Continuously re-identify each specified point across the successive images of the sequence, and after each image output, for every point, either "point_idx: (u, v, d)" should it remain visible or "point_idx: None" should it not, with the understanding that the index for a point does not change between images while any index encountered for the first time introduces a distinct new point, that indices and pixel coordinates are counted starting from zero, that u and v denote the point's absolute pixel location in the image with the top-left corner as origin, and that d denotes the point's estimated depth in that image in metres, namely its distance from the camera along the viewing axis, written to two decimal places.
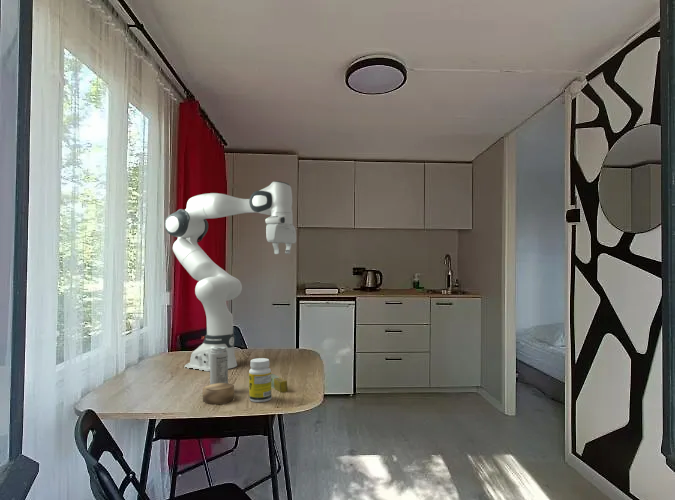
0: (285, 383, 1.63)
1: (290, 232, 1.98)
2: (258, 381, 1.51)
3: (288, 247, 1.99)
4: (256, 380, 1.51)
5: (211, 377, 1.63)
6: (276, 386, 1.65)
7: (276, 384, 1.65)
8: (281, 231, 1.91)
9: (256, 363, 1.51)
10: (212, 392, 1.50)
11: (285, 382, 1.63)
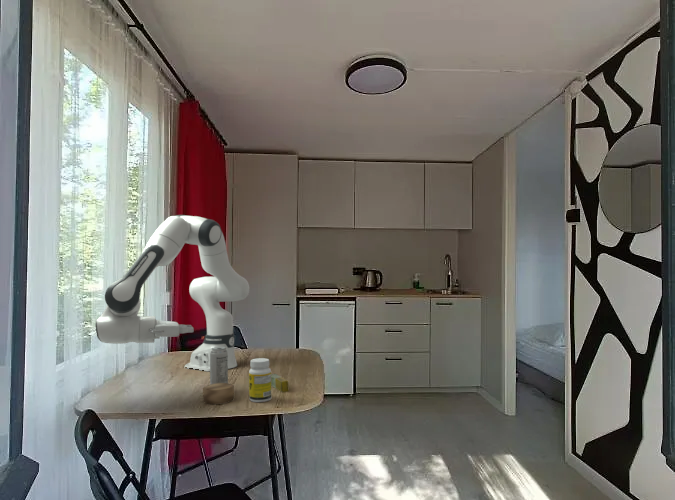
0: (286, 383, 1.63)
1: None
2: (258, 381, 1.51)
3: None
4: (256, 380, 1.51)
5: (211, 377, 1.63)
6: (278, 386, 1.65)
7: (277, 384, 1.65)
8: None
9: (256, 363, 1.51)
10: (212, 392, 1.50)
11: (286, 382, 1.63)
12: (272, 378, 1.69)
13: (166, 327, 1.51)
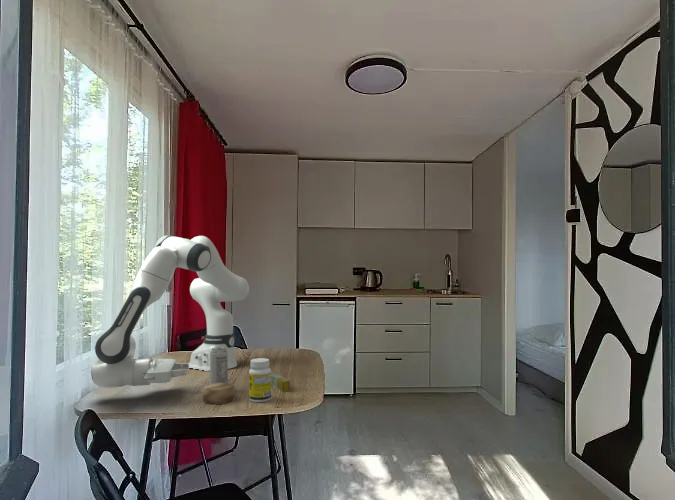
0: (287, 383, 1.63)
1: None
2: (258, 381, 1.51)
3: None
4: (256, 380, 1.51)
5: (211, 377, 1.63)
6: (279, 386, 1.65)
7: (279, 384, 1.65)
8: None
9: (256, 363, 1.51)
10: (212, 392, 1.50)
11: (287, 382, 1.63)
12: (273, 378, 1.70)
13: (157, 373, 1.51)
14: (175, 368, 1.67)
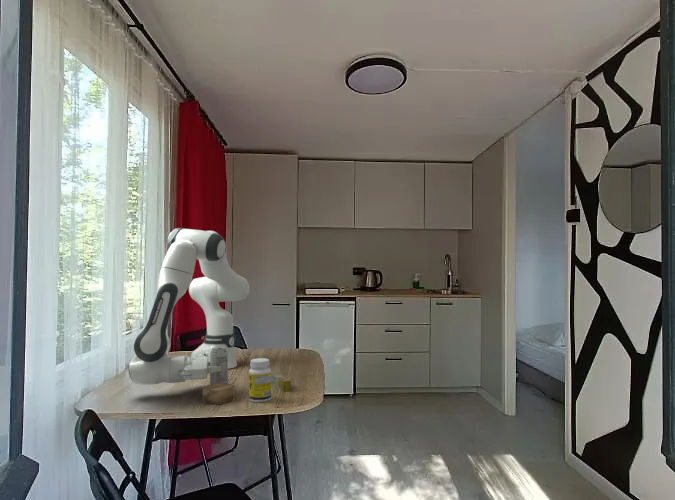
0: (288, 382, 1.63)
1: None
2: (258, 381, 1.51)
3: None
4: (256, 380, 1.51)
5: (211, 377, 1.63)
6: (280, 386, 1.66)
7: (280, 384, 1.65)
8: None
9: (256, 363, 1.51)
10: (212, 392, 1.50)
11: (288, 382, 1.63)
12: (275, 378, 1.70)
13: (194, 370, 1.54)
14: (208, 365, 1.69)
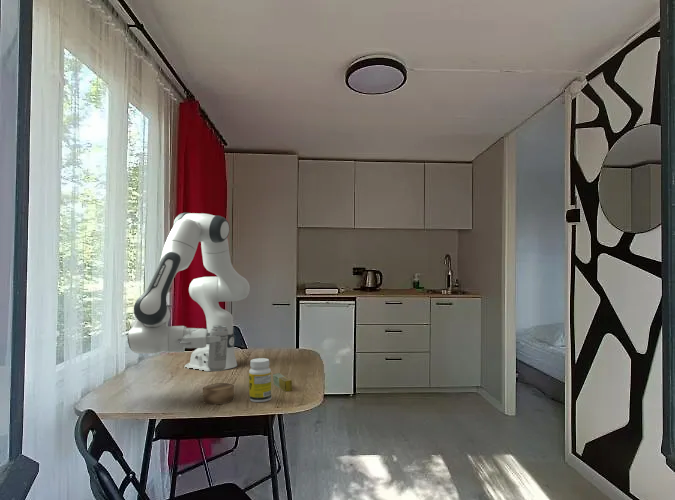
0: (290, 382, 1.64)
1: None
2: (258, 381, 1.51)
3: None
4: (256, 380, 1.51)
5: (209, 355, 1.62)
6: (281, 385, 1.66)
7: (281, 383, 1.66)
8: None
9: (256, 363, 1.51)
10: (212, 392, 1.50)
11: (290, 381, 1.64)
12: (276, 377, 1.70)
13: (193, 339, 1.53)
14: None
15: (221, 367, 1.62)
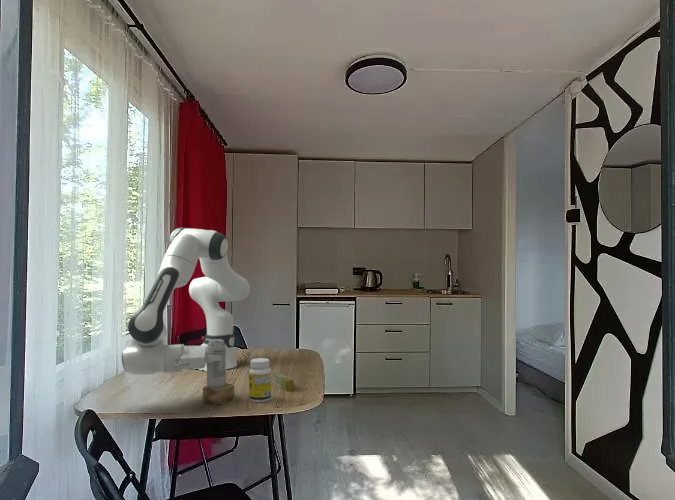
0: (291, 382, 1.64)
1: None
2: (258, 381, 1.51)
3: None
4: (256, 380, 1.51)
5: (208, 371, 1.52)
6: (283, 385, 1.66)
7: (282, 383, 1.66)
8: None
9: (256, 363, 1.51)
10: (212, 392, 1.50)
11: (291, 381, 1.64)
12: (277, 377, 1.70)
13: (191, 359, 1.44)
14: None
15: (221, 384, 1.52)
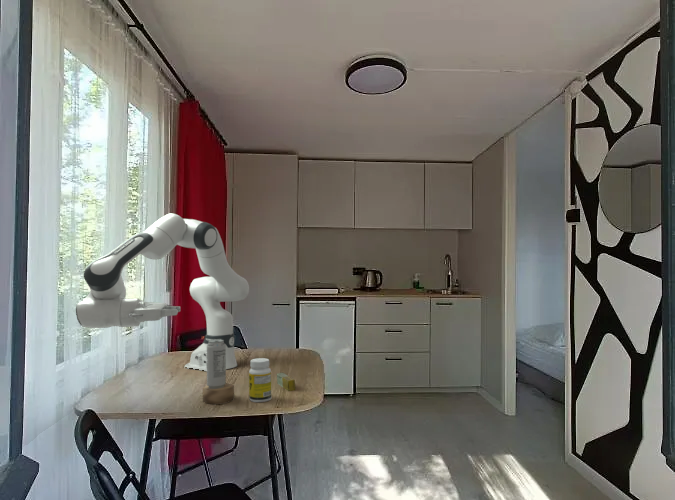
0: (293, 382, 1.64)
1: None
2: (258, 381, 1.51)
3: None
4: (256, 380, 1.51)
5: (208, 372, 1.52)
6: (284, 385, 1.66)
7: (284, 383, 1.66)
8: None
9: (256, 363, 1.51)
10: (212, 392, 1.50)
11: (293, 381, 1.64)
12: (279, 377, 1.71)
13: (145, 311, 1.41)
14: None
15: (221, 384, 1.52)
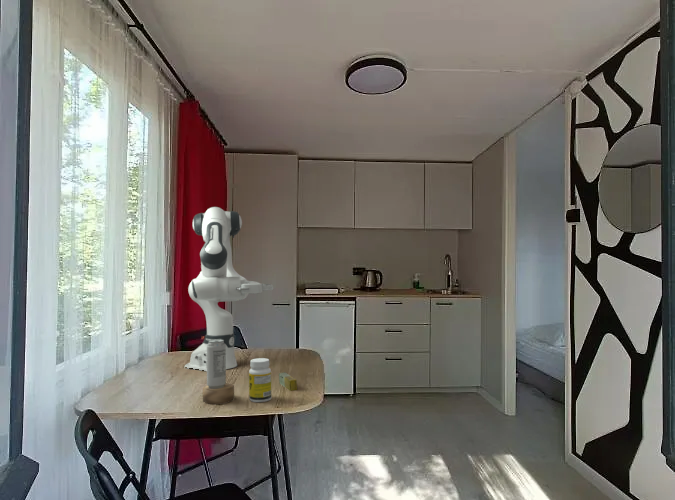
0: (295, 382, 1.64)
1: None
2: (258, 381, 1.51)
3: None
4: (256, 380, 1.51)
5: (208, 372, 1.52)
6: (286, 385, 1.67)
7: (286, 383, 1.67)
8: None
9: (256, 363, 1.51)
10: (212, 392, 1.50)
11: (295, 381, 1.64)
12: (281, 377, 1.71)
13: (251, 285, 1.74)
14: None
15: (221, 384, 1.52)
